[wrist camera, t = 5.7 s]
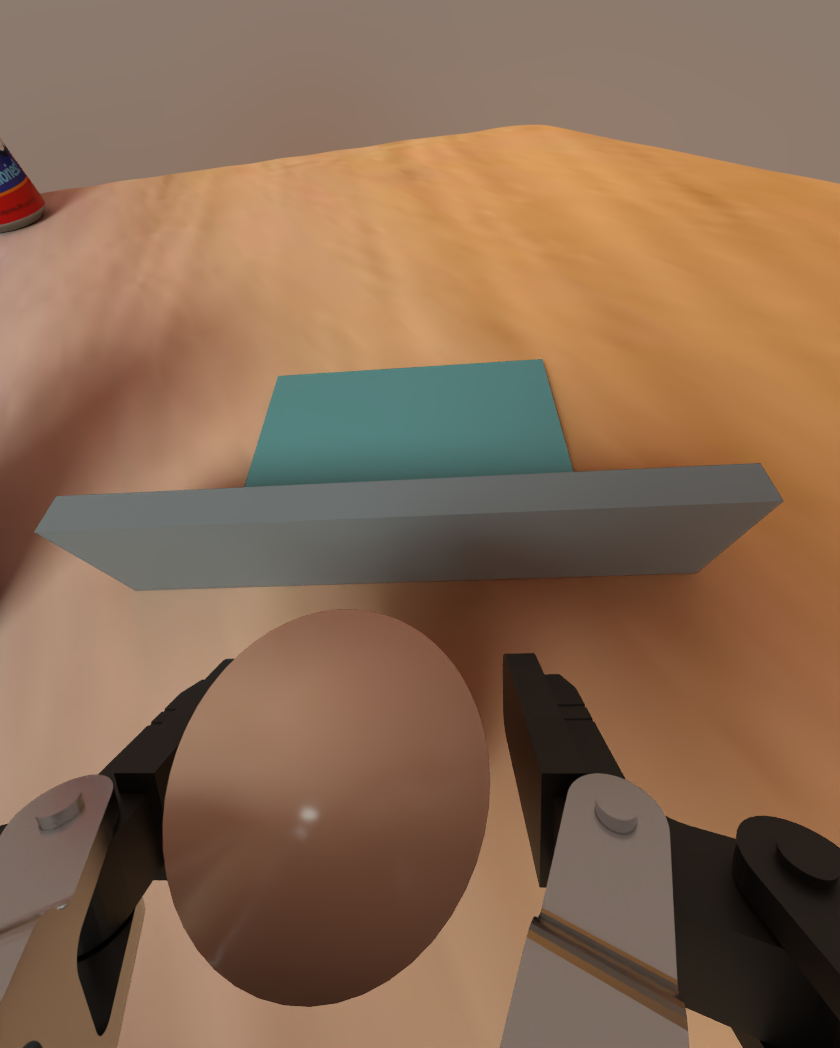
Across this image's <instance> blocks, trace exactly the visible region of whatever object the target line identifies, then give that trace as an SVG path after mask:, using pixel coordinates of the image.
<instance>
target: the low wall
mask: <svg viewBox="0 0 840 1048" xmlns="http://www.w3.org/2000/svg"><path fill="white" fill-rule="evenodd" d="M783 501H784V500H783V499H782V497H781V496H780V494H779V492H778V491H777V489H776V488H775V486H774V484H773V483H772V481H771V480H770V478H769V476H768V475H767V473H766V472H765V470H764V468H763V467H762V465H761V464H760V463H753V464H732V465H710V466H689V467H668V468H646V469H625V470H604V471H582V472H561V473H540V474H518V475H497V476H476V477H455V478H433V479H412V480H391V481H369V482H348V483H327V484H305V485H284V486H263V487H241V488H220V489H199V490H177V491H156V492H135V493H114V494H92V495H71V496H56V498H55V499H54V501H53V502H52V504H51V506H50V507H49V509H48V510H47V512H46V514H45V515H44V517H43V518H42V520H41V522H40V523H39V525H38V526H37V528H36V530H35V531H34V532H35V533H37V534H38V535H40V536H42V537H44V538H45V539H47V540H49V541H51V542H52V543H54V544H56V545H57V546H59V547H61V548H63V549H64V550H66V551H68V552H70V553H71V554H73V555H75V556H76V557H78V558H80V559H82V560H83V561H85V562H87V563H89V564H90V565H92V566H94V567H95V568H97V569H99V570H101V571H102V572H104V573H106V574H108V575H109V576H111V577H113V578H114V579H116V580H118V581H120V582H121V583H123V584H125V585H127V586H128V587H130V588H132V589H133V590H135V591H139V590H171V589H203V588H235V587H267V586H299V585H330V584H362V583H394V582H426V581H458V580H489V579H521V578H553V577H585V576H617V575H649V574H680V573H697V572H699V571H700V570H701V569H702V568H703V567H705V566H706V565H707V564H708V563H709V562H711V561H712V560H713V559H714V558H715V557H717V556H718V555H719V554H720V553H721V552H723V551H724V550H725V549H726V548H728V547H729V546H730V545H731V544H732V543H734V542H735V541H736V540H737V539H738V538H740V537H741V536H742V535H743V534H744V533H746V532H747V531H748V530H749V529H750V528H752V527H753V526H754V525H755V524H757V523H758V522H759V521H760V520H761V519H763V518H764V517H765V516H766V515H767V514H769V513H770V512H771V511H772V510H773V509H775V508H776V507H777V506H778V505H779V504H781V503H782V502H783Z"/></svg>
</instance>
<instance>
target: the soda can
mask: <svg viewBox="0 0 840 1048" xmlns="http://www.w3.org/2000/svg"><path fill="white" fill-rule="evenodd" d="M44 208H45V201H44V200H43V198H42V196H41V195H40V193H39V192H38V191H37V189H36V188H35V186H34V185H33V184H32V182H31V181H30V179H29V178H28V177H27V175H26V174H25V172H24V171H23V170H22V168H21V167H20V165H19V164H18V163H17V161H16V160H15V158H14V157H13V156H12V154H11V153H10V151H9V150H8V148H7V147H6V146H5V144H4V143H3V141H2V140H1V139H0V233H2V232H8V231H13V230H16V229H20V228H23V227H25V226H28V225H30V224H32V223H34V222H35V221H37V220H38V219H39V218H40V217H41V215H42V212H43V210H44Z"/></svg>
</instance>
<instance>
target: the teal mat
mask: <svg viewBox="0 0 840 1048" xmlns="http://www.w3.org/2000/svg"><path fill="white" fill-rule="evenodd" d="M561 472H573V468H572V464H571V461H570V457H569V454H568V450H567V446H566V443H565V439H564V436H563V432H562V428H561V425H560V421H559V418H558V414H557V410H556V407H555V403H554V400H553V396H552V393H551V389H550V385H549V382H548V378H547V375H546V371H545V367H544V364H543V360H542V359H538V360H522V361H506V362H491V363H475V364H459V365H444V366H428V367H412V368H397V369H381V370H365V371H350V372H334V373H318V374H303V375H287V376H278V378H277V382H276V385H275V388H274V392H273V395H272V398H271V401H270V405H269V408H268V411H267V415H266V418H265V421H264V424H263V428H262V431H261V434H260V437H259V441H258V444H257V447H256V451H255V454H254V457H253V460H252V464H251V467H250V470H249V474H248V477H247V480H246V483H245V487H263V486H284V485H305V484H327V483H348V482H369V481H391V480H412V479H433V478H455V477H476V476H497V475H518V474H540V473H561Z"/></svg>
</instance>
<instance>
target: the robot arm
mask: <svg viewBox="0 0 840 1048" xmlns="http://www.w3.org/2000/svg"><path fill="white" fill-rule="evenodd" d="M233 660H234V659H225V660H224V661H222V662H221V663H220V664H219V665H218V667H217V668H216V669H215V670H214V671H213V672H212V673H211V674H210V675H209V676H208V677H207V678H206V679H205V680H201V681H199V682H198V683H196V684H195V685H193V686H191V687H190V688H188V689H187V690H185V691H183V692H182V693H180V694H179V695H178V696H177V697H176V698H175V699H174V700H173V701H172V702H171V703H170V704H169V705H168V706H167V707H166V708H165V711H164V712H161V713H160V714H159V715H158V716H157V717H156V718H155V719H154V720H153V721H152V722H151V725H150V726H147V727H146V728H145V729H144V730H143V731H142V732H141V733H140V734H139V735H138V736H137V737H136V738H135V739H134V740H133V741H132V742H131V743H130V744H129V745H128V746H127V747H126V748H124V749H123V750H122V751H121V752H120V753H119V754H118V755H117V756H116V757H115V758H114V759H113V760H112V761H111V762H110V763H109V764H108V765H107V766H106V767H105V768H104V769H103V770H102V771H101V772H100V773H99V774H98V775H88V776H83V777H79V778H75V779H73V780H70V781H67V782H65V783H63V784H60V785H58V786H56V787H54V788H52V789H50V790H49V791H47V792H45V793H43V794H42V795H40V796H39V797H37V798H36V799H34V800H33V801H31V802H30V803H29V804H28V805H26V806H25V807H24V808H23V809H22V810H21V811H19V812H18V813H17V814H16V815H15V816H14V817H13V819H12V820H11V821H10V822H9V823H8V824H5V825H1V826H0V1048H117V1045H118V1040H119V1035H120V1030H121V1025H122V1020H123V1016H124V1011H125V1006H126V1001H127V996H128V992H129V987H130V982H131V977H132V973H133V968H134V963H135V958H136V953H137V949H138V944H139V939H140V934H141V929H142V925H143V920H144V914H145V904H144V900H143V897H142V896H143V895H144V893H145V892H146V890H147V889H148V887H149V885H150V884H151V882H152V881H153V880H167V877H166V869H165V862H164V854H163V814H164V804H165V796H166V791H167V786H168V781H169V776H170V771H171V768H172V765H173V761H174V758H175V755H176V752H177V749H178V746H179V744H180V741H181V739H182V736H183V734H184V732H185V729H186V727H187V725H188V723H189V721H190V719H191V717H192V716H193V714H194V712H195V710H196V708H197V706H198V705H199V703H200V702H201V700H202V698H203V697H204V695H205V694H206V692H207V691H208V689H209V688H210V686H211V685H212V684H213V683H214V682H215V680H216V679H217V678H218V677H219V675H220V674H221V673H222V672H223V670H224V669H225V668H226V667H227V666H228V665H229V664H230V663H231V662H232V661H233ZM503 715H504V726H505V733H506V739H507V743H508V748H509V752H510V757H511V761H512V766H513V770H514V774H515V779H516V783H517V788H518V792H519V797H520V801H521V806H522V810H523V815H524V819H525V824H526V828H527V833H528V837H529V842H530V846H531V851H532V855H533V860H534V864H535V869H536V873H537V878H538V882H539V887H546V892H545V896H544V900H543V905H542V909H541V912H540V915H539V918H538V917H536V916H535V917H534V918H533V920H532V922H531V925H530V928H529V931H528V934H527V938H526V942H525V945H524V949H523V954H522V958H521V962H520V966H519V970H518V974H517V979H516V983H515V987H514V991H513V995H512V999H511V1003H510V1008H509V1012H508V1016H507V1020H506V1024H505V1028H504V1032H503V1037H502V1041H501V1045H500V1048H689V1037H688V1026H687V1016H686V1009H685V1007H686V1008H688V1009H690V1010H693V1011H695V1012H697V1013H700V1014H702V1015H704V1016H706V1017H709V1018H711V1019H713V1020H716V1021H718V1022H720V1023H722V1024H725V1025H727V1026H729V1027H731V1028H732V1030H733V1031H734V1033H735V1035H736V1037H737V1038H738V1040H739V1042H740V1044H741V1045H742V1047H743V1048H840V848H839V847H838V846H836V845H835V844H834V843H832V842H831V841H829V840H828V839H826V838H824V837H823V836H821V835H819V834H817V833H816V832H814V831H812V830H810V829H808V828H806V827H803V826H801V825H799V824H796V823H794V822H791V821H788V820H785V819H781V818H776V817H770V816H755V817H750V818H748V819H746V820H744V821H743V822H742V823H741V824H740V825H739V827H738V829H737V834H736V839H734V838H731V837H727V836H724V835H720V834H716V833H713V832H709V831H706V830H702V829H699V828H695V827H692V826H688V825H686V824H683V823H680V822H677V821H675V820H673V819H671V818H669V817H667V816H665V815H664V813H663V811H662V809H661V808H660V807H659V805H658V804H657V803H656V802H655V801H654V800H653V798H652V797H651V796H650V795H648V794H647V793H646V792H645V791H644V790H642V789H641V788H639V787H638V786H636V785H635V784H633V783H631V782H629V781H627V780H626V779H625V777H624V776H623V774H622V772H621V770H620V768H619V766H618V765H617V763H616V761H615V759H614V757H613V755H612V754H611V752H610V750H609V748H608V746H607V744H606V743H605V741H604V739H603V737H602V735H601V733H600V732H599V730H598V728H597V726H596V724H595V722H593V721H592V717H591V715H590V713H589V711H588V710H587V708H585V704H584V702H583V700H582V699H581V697H580V695H579V693H578V691H577V689H576V688H575V687H574V686H573V685H572V684H570V683H569V682H568V681H567V680H566V679H564V678H563V677H562V676H561V675H559V674H548V675H544V673H543V671H542V669H541V666H540V664H539V662H538V660H537V657H536V655H535V654H534V653H524V654H504V655H503Z"/></svg>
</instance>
